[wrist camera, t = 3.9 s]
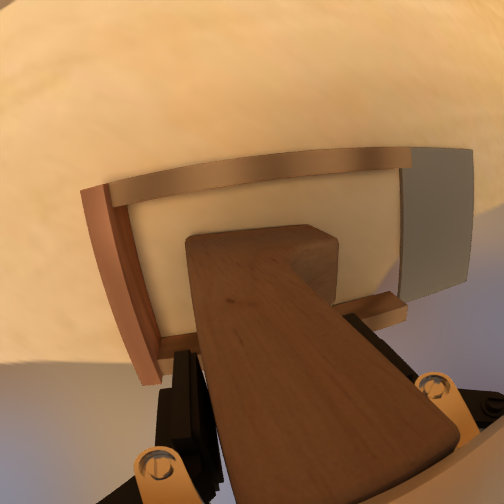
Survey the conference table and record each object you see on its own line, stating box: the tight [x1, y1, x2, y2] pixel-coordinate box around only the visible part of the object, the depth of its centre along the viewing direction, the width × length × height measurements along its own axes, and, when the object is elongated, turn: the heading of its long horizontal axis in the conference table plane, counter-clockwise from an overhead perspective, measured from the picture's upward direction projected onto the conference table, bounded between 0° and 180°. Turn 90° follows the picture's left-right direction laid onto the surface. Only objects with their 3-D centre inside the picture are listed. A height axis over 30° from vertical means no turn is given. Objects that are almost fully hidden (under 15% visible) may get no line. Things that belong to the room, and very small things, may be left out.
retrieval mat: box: [397, 147, 474, 303], centre depth 23 cm, size 10×14×1 cm
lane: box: [80, 147, 412, 386], centre depth 20 cm, size 22×14×4 cm, turn 98°
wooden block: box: [185, 224, 461, 504], centre depth 13 cm, size 9×4×18 cm, turn 93°
